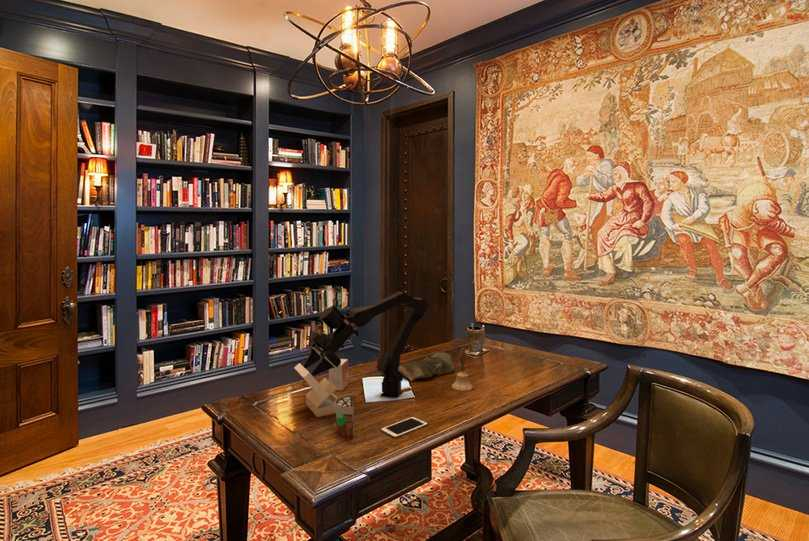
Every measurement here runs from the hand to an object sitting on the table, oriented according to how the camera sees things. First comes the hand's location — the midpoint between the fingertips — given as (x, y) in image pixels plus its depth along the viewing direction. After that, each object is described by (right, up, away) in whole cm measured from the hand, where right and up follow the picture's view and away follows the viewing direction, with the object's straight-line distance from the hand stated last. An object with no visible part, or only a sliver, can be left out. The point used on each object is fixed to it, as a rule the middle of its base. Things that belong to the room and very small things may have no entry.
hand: (307, 371), depth 159 cm
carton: (+5, -14, +4) cm, 15 cm away
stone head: (+43, -10, +43) cm, 62 cm away
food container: (+14, -16, -14) cm, 25 cm away
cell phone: (+33, -16, -12) cm, 39 cm away
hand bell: (+56, -12, +24) cm, 62 cm away
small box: (+7, -12, +25) cm, 29 cm away
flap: (+4, -8, +3) cm, 10 cm away
